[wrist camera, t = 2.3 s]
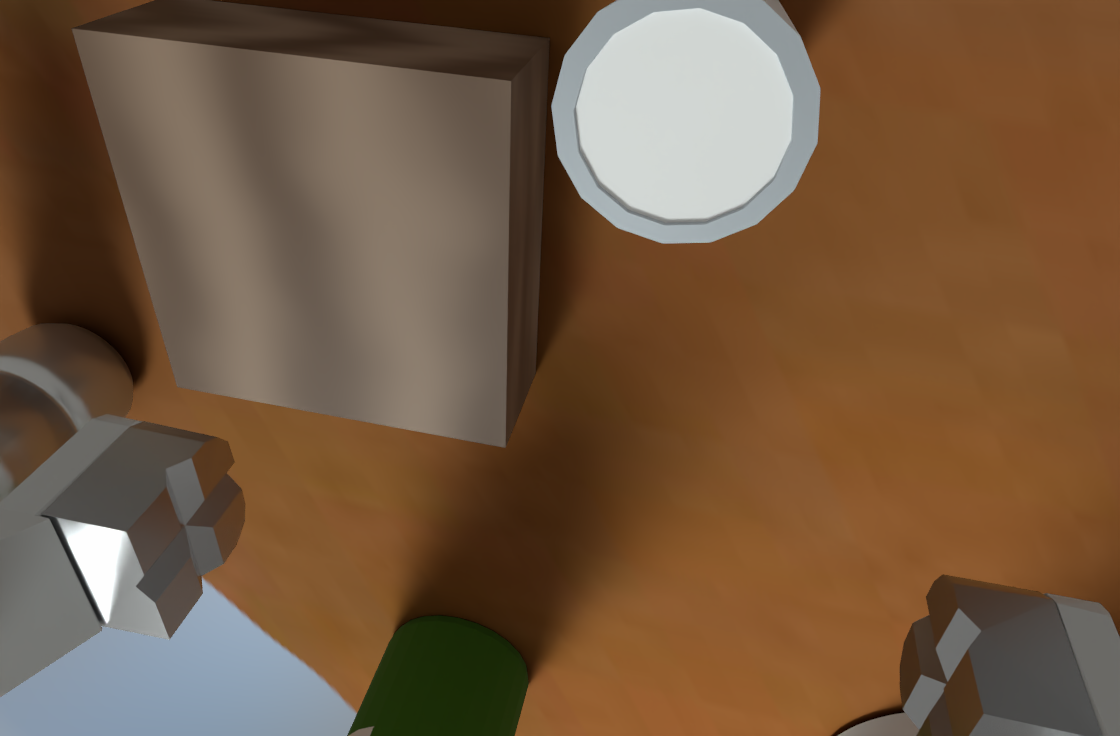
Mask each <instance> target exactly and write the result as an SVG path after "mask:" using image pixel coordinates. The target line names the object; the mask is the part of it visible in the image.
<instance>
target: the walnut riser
mask: <svg viewBox="0 0 1120 736" xmlns="http://www.w3.org/2000/svg"><path fill="white" fill-rule="evenodd" d="M72 32H73V35H74V39H75V42H76V45H77V49H78V52H79V55H80V59H81V62H82V66H83V69H84V72H85V76H86V79H87V83H88V86H89V89H90V93H91V96H92V99H93V103H94V106H95V110H96V113H97V116H98V120H99V123H100V127H101V130H102V133H103V137H104V140H105V144H106V147H107V150H108V154H109V157H110V160H111V164H112V167H113V171H114V174H115V177H116V181H117V184H118V188H119V191H120V194H121V198H122V201H123V204H124V208H125V211H126V215H127V218H128V221H129V225H130V228H131V232H132V235H133V238H134V242H135V245H136V249H137V252H138V255H139V259H140V262H141V265H142V269H143V272H144V276H145V279H146V282H147V286H148V289H149V293H150V296H151V299H152V303H153V306H154V309H155V313H156V316H157V320H158V323H159V326H160V330H161V333H162V337H163V340H164V343H165V347H166V350H167V354H168V357H169V360H170V364H171V367H172V370H173V374H174V377H175V381H176V384H177V387H181V388H186V389H191V390H197V391H202V392H207V393H213V394H218V395H224V396H229V397H234V398H240V399H245V400H251V401H256V402H261V403H267V404H272V405H277V406H283V407H288V408H294V409H299V410H304V411H310V412H315V413H321V414H326V415H331V416H337V417H342V418H348V419H353V420H358V421H364V422H369V423H374V424H380V425H385V426H391V427H396V428H401V429H407V430H412V431H418V432H423V433H428V434H434V435H439V436H445V437H450V438H455V439H461V440H466V441H471V442H477V443H482V444H488V445H493V446H498V447H504V448H506V445H507V443H508V441H509V438H510V436H511V433H512V431H513V428H514V426H515V423H516V421H517V418H518V416H519V413H520V411H521V408H522V406H523V403H524V401H525V399H526V396H527V394H528V391H529V389H530V386H531V384H532V381H533V379H534V376H535V374H536V354H537V330H538V306H539V283H540V259H541V235H542V212H543V188H544V165H545V141H546V117H547V94H548V70H549V46H550V38H545V37H536V36H527V35H518V34H509V33H500V32H491V31H482V30H473V29H464V28H455V27H446V26H437V25H428V24H419V23H410V22H401V21H392V20H383V19H374V18H365V17H356V16H347V15H338V14H329V13H319V12H310V11H301V10H292V9H283V8H274V7H265V6H256V5H247V4H238V3H229V2H220V1H211V0H155V1H152V2H149V3H146V4H143V5H140V6H137V7H134V8H131V9H128V10H125V11H122V12H119V13H116V14H113V15H110V16H107V17H104V18H101V19H98V20H95V21H92V22H89V23H86V24H83V25H80V26H78V27H75V28H72Z"/></svg>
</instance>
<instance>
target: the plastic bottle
mask: <svg viewBox="0 0 1120 736" xmlns="http://www.w3.org/2000/svg"><path fill="white" fill-rule="evenodd" d="M132 401H133V379H132V376H131V373H130V370H129V368H128V366H127V364H126V363H125V361H124V360H123V358H122V357H121V356H120V354H119V353H118V352H117V351H116V350H115V349H114V348H113V347H112V346H111V345H110V344H109V343H107V342H106V341H105V340H104V339H102V338H101V337H99V336H98V335H96V334H95V333H93V332H91V331H89V330H87V329H85V328H82V327H79V326H76V325H72V324H66V323H41V324H37V325H33V326H31V327H29V328H26V329H24V330H22V331H20V332H18V333H16V334H14V335H11V336H9V337H7V338H6V339H4V340H2V341H1V342H0V502H1V501H2V500H3V499H4V498H6V497H7V496H8V495H9V494H10V493H11V492H12V491H13V490H14V489H15V488H17V487H18V486H19V485H20V484H21V483H22V482H23V481H24V480H25V479H26V478H28V477H29V476H30V475H31V474H32V473H33V472H34V471H35V470H36V469H37V468H39V467H40V466H41V465H42V464H43V463H44V462H45V461H46V460H47V459H48V458H49V457H51V456H52V455H53V454H54V453H55V452H56V451H57V450H58V449H59V448H60V447H62V446H63V445H64V444H65V443H66V442H67V441H68V440H69V439H70V438H71V437H73V436H74V435H75V434H76V433H77V432H78V431H79V430H80V429H81V428H82V427H84V426H85V425H86V424H87V423H88V422H89V421H90V420H91V419H93V418H96V417H99V416H102V415H105V414H110V415H114V416H119V417H123V418H125V417H126V415H127V414H128V412H129V410H130V409H131V405H132Z"/></svg>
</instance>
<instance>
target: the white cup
mask: <svg viewBox="0 0 1120 736" xmlns="http://www.w3.org/2000/svg"><path fill="white" fill-rule="evenodd" d="M819 106H820V86H819V83H818V81H817V78H816V76H815V73H814V70H813V68H812V65H811V62H810V60H809V57H808V55H807V52H806V49H805V47H804V44H803V41H802V39H801V36H800V35H799V33H798V31H797V30H796V28H795V27H794V25H793V23H792V22H791V20H790V18H789V17H788V15H787V13H786V12H785V10H784V8H783V7H782V5H781V3H780V2H779V0H616V1H614V2H613V3H611V4H609V5H608V6H606V7H605V8H603V9H601V10H600V11H598V12H597V13H596V15H595V16H594V17H593V19H592V20H591V21H590V23H589V24H588V25H587V27H586V28H585V29H584V30H583V32H582V33H581V34H580V36H579V37H578V38H577V40H576V41H575V42H574V44H573V45H572V46H571V48H570V49H569V50H568V52H567V53H566V54H565V55H564V59H563V63H562V67H561V71H560V75H559V78H558V82H557V86H556V90H555V94H554V97H553V101H552V105H551V108H552V116H553V123H554V131H555V139H556V146H557V154H558V157H559V159H560V160H561V162H562V164H563V166H564V168H565V169H566V171H567V173H568V175H569V177H570V178H571V180H572V182H573V184H574V186H575V187H576V189H577V191H578V193H579V195H580V196H581V198H582V199H583V200H585V201H586V202H587V203H588V204H589V205H591V206H592V207H593V208H594V209H595V210H597V211H598V212H599V213H600V214H601V215H603V216H604V217H605V218H606V219H607V220H609V221H610V222H611V223H612V224H613V225H615V226H616V227H617V228H619V229H622V230H625V231H628V232H631V233H634V234H637V235H639V236H642V237H645V238H648V239H651V240H654V241H657V242H660V243H708V242H713V241H715V240H718V239H720V238H723V237H726V236H728V235H731V234H733V233H736V232H738V231H741V230H743V229H746V228H748V227H751V226H754V225H756V224H757V223H758V222H760V221H761V220H762V219H763V218H764V217H765V216H766V215H767V214H768V213H770V212H771V211H772V210H773V209H774V208H775V207H776V206H777V205H778V204H779V203H781V202H782V201H783V200H784V199H785V198H786V197H787V196H788V195H789V194H790V193H792V192H793V191H794V189H795V187H796V185H797V183H798V181H799V179H800V177H801V175H802V173H803V171H804V169H805V167H806V165H807V163H808V161H809V159H810V157H811V155H812V153H813V151H814V149H815V147H816V145H817V141H818V124H819Z"/></svg>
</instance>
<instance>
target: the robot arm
mask: <svg viewBox="0 0 1120 736" xmlns="http://www.w3.org/2000/svg"><path fill="white" fill-rule="evenodd" d="M233 464H234V459H233V455H232V452H231V449H230V446H229V443H228V441H225V440H223V439H220V438H218V437H214V436H209V435H205V434H200V433H195V432H191V431H186V430H182V429H177V428H173V427H168V426H163V425H159V424H154V423H150V422H145V421H143V422H142V421H137V420H133V419H128V418H123V417H119V416H114V415H110V414H105V415H102V416H99V417H96V418H93V419H91V420H90V421H89V422H88V423H87V424H86V425H85V426H84V427H82V428H81V429H80V430H79V431H78V432H77V433H76V434H75V435H74V436H73V437H71V438H70V439H69V440H68V441H67V442H66V443H65V444H64V445H63V446H62V447H60V448H59V449H58V450H57V451H56V452H55V453H54V454H53V455H52V456H51V457H49V458H48V459H47V460H46V461H45V462H44V463H43V464H42V465H41V466H40V467H39V468H37V469H36V470H35V471H34V472H33V473H32V474H31V475H30V476H29V477H28V478H26V479H25V480H24V481H23V482H22V483H21V484H20V485H19V486H18V487H17V488H15V489H14V490H13V491H12V492H11V493H10V494H9V495H8V496H7V497H6V498H4V499H3V500H2V501H1V502H0V697H1V696H3V695H4V694H6V693H7V692H9V691H10V690H12V689H13V688H15V687H16V686H18V685H19V684H21V683H23V682H24V681H26V680H27V679H28V678H30V677H32V676H33V675H35V674H36V673H38V672H39V671H41V670H42V669H44V668H45V667H47V666H49V665H50V664H51V663H53V662H55V661H56V660H58V659H59V658H61V657H62V656H64V655H65V654H67V653H68V652H70V651H71V650H73V649H74V648H76V647H77V646H79V645H81V644H82V643H84V642H85V641H87V640H88V639H90V638H91V637H93V636H94V635H96V634H97V633H99V632H100V631H102V627H101V626H105V627H110V628H115V629H120V630H125V631H130V632H135V633H139V634H144V635H149V636H154V637H160V638H165V639H170V638H171V637H172V635H173V634H174V633H175V631H176V630H177V628H178V627H179V626H180V624H181V623H182V621H183V620H184V619H185V617H186V616H187V614H188V613H189V612H190V610H191V609H192V607H193V606H194V605H195V603H196V602H197V601H198V599H199V598H200V596H201V595H202V594H203V591H202V577H201V576H202V575H204V574H206V573H208V572H209V571H211V570H213V569H215V568H217V567H219V566H220V565H222V564H224V563H225V561H226V560H227V558H228V557H229V555H230V554H231V552H232V551H233V549H234V548H235V546H236V545H237V542H238V539H239V537H240V534H241V531H242V528H243V525H244V522H245V500H244V496H243V492H242V489H241V488H240V487H239V486H238V485H237V484H236V483H235V481H234V480H233V479H232V478H231V477H230V476H229V475H228V474H227V472H228V470H229V469H230V468H231V466H232V465H233ZM926 599H927V605H928V610H929V615H928V616H926V617H924V618H922V619H920V620H918V621H916V622H914V623H912V626H911V628H910V630H909V632H908V635H907V637H906V639H905V641H904V645H903V651H902V656H901V662H900V693H901V700H902V708H903V710H904V712H905V713H899V714H893V715H888V716H884V717H880V718H876V719H873V720H870V721H866V722H864V723H861V724H859V725H856V726H854V727H852V728H850V729H848V730H846V731H844V732H843V733H841V734H839V735H838V736H1120V637H1119V634H1118V632H1117V630H1116V627H1115V625H1114V623H1113V620H1112V618H1111V616H1110V613H1109V612H1108V611H1107V610H1106V609H1105V608H1104V607H1103V606H1102V605H1101V604H1100V603H1097V602H1091V601H1086V600H1080V599H1075V598H1069V597H1064V596H1059V595H1053V594H1048V593H1045V594H1042V593H1040V592H1038V591H1032V590H1027V589H1021V588H1016V587H1010V586H1005V585H999V584H993V583H988V582H982V581H977V580H971V579H966V578H960V577H954V576H949V575H941V576H940V577H939V578H938V579H936V580H935V581H934V583H933V584H932V586H931V588H930V590H929V592H928V594H927V596H926Z"/></svg>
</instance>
